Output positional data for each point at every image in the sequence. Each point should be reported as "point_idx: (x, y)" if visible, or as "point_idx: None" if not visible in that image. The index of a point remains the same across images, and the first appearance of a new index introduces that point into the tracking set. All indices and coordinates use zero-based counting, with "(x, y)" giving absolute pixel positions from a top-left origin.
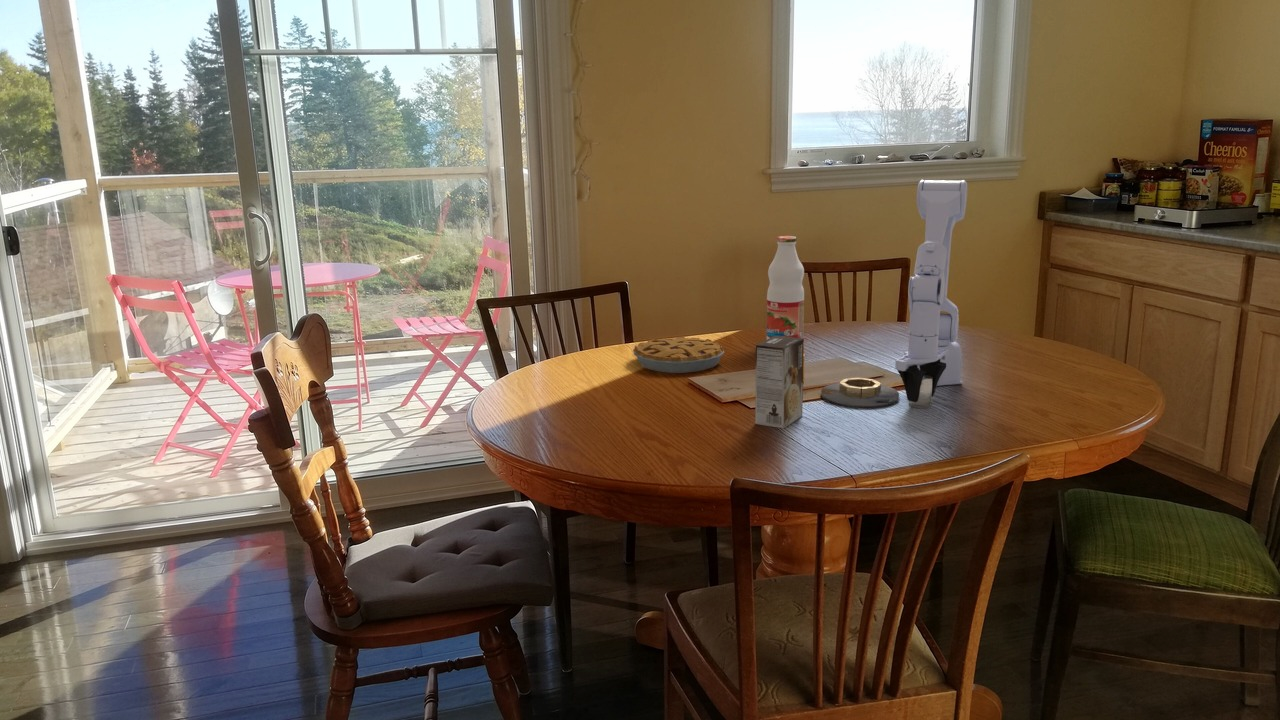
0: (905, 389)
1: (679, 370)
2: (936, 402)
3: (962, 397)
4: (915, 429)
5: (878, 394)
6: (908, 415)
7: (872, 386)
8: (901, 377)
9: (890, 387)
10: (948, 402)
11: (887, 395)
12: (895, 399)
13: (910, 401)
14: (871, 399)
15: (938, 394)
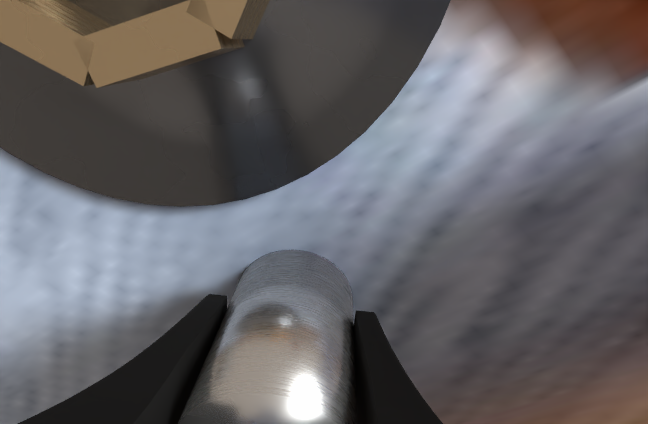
0: (168, 332)
1: None
2: (401, 330)
3: (566, 374)
4: (14, 418)
5: (193, 63)
6: (119, 333)
7: (84, 40)
8: (71, 400)
9: (439, 12)
10: (438, 365)
11: (229, 127)
12: (217, 201)
13: (234, 293)
14: (61, 98)
15: (560, 276)
